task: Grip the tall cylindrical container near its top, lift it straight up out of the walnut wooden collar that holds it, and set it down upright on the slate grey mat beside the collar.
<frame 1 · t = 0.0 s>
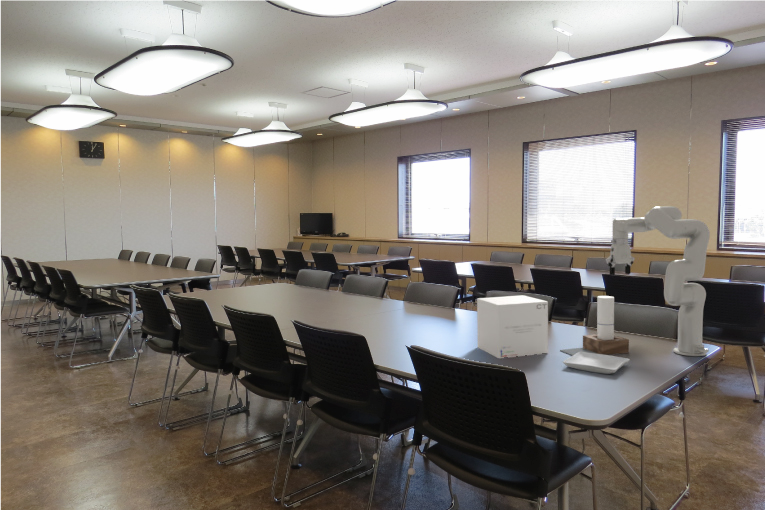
hand: (620, 274, 276), 31 cm above the table, tool pointing down, fingers open, 9 cm apart
collar: (605, 350, 243), on the table
cylindrical container: (605, 350, 243), resting in collar
cube: (511, 351, 247), on the table
salad plate: (596, 368, 217), on the table
mat: (579, 352, 239), on the table
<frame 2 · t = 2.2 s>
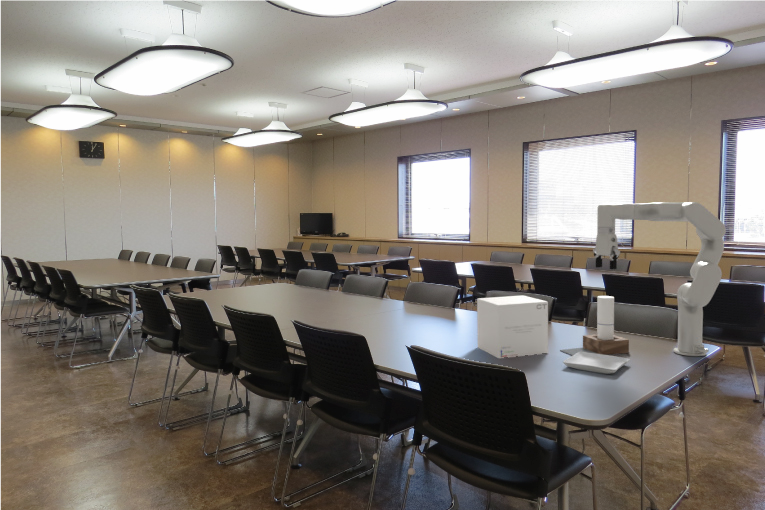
hand: (605, 268, 240), 38 cm above the table, tool pointing down, fingers open, 9 cm apart
nothing on the table moved.
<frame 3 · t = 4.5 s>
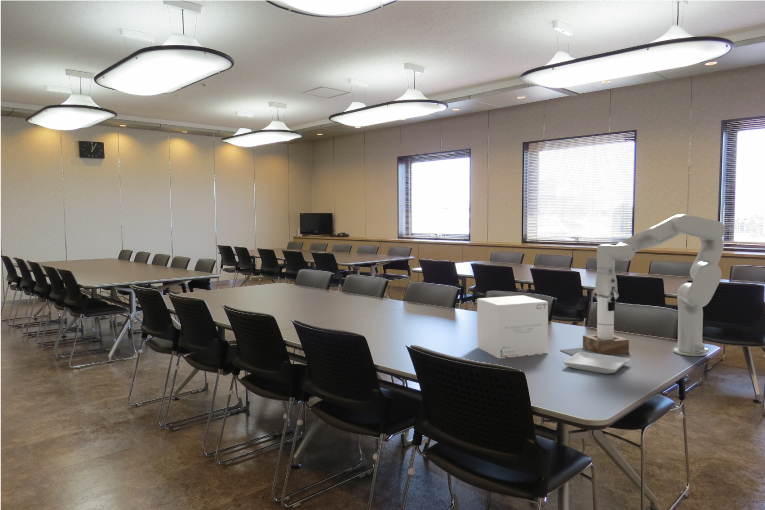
hand: (605, 309, 241), 19 cm above the table, tool pointing down, fingers closed on cylindrical container, 7 cm apart
cylindrical container: (605, 350, 243), resting in collar, touching gripper
everything else where it was.
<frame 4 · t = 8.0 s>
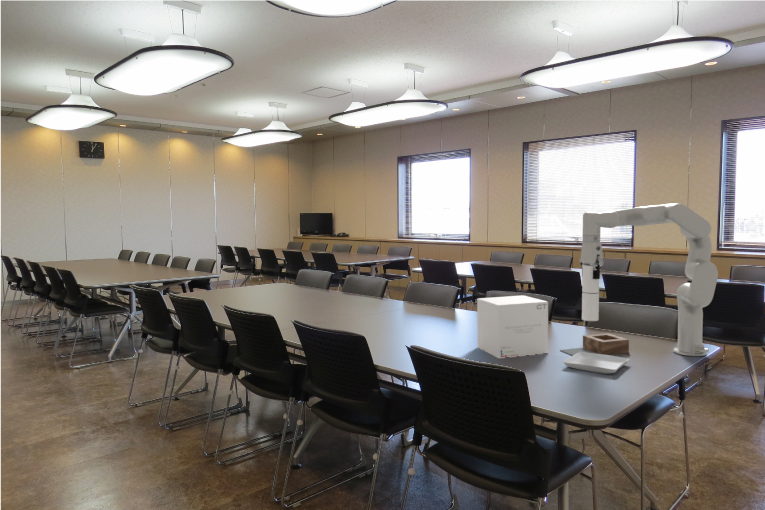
hand: (590, 277, 238), 34 cm above the table, tool pointing down, fingers closed on cylindrical container, 7 cm apart
cylindrical container: (590, 319, 240), point 15 cm above the table, touching gripper
everything else where it was.
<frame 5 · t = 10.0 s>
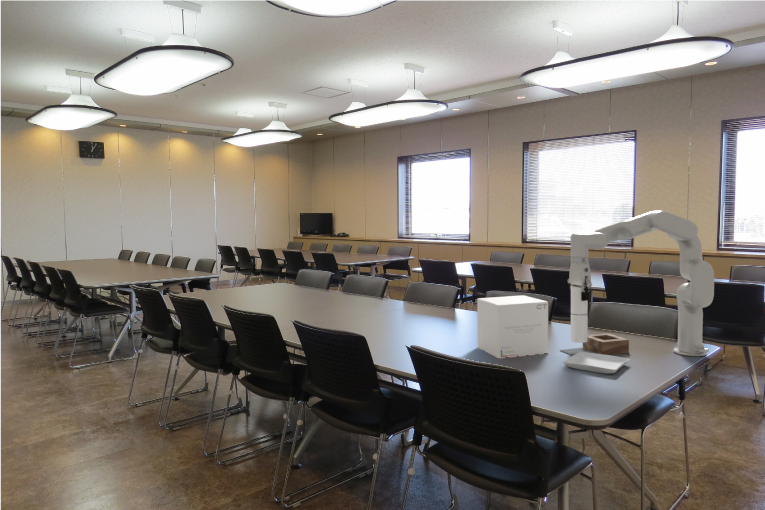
hand: (579, 299, 237), 25 cm above the table, tool pointing down, fingers closed on cylindrical container, 7 cm apart
cylindrical container: (579, 341, 239), point 5 cm above the table, touching gripper
everything else where it was.
when the fingers open (21 cm above the table, at t = 11.7 s): cylindrical container drops 1 cm, resting on mat.
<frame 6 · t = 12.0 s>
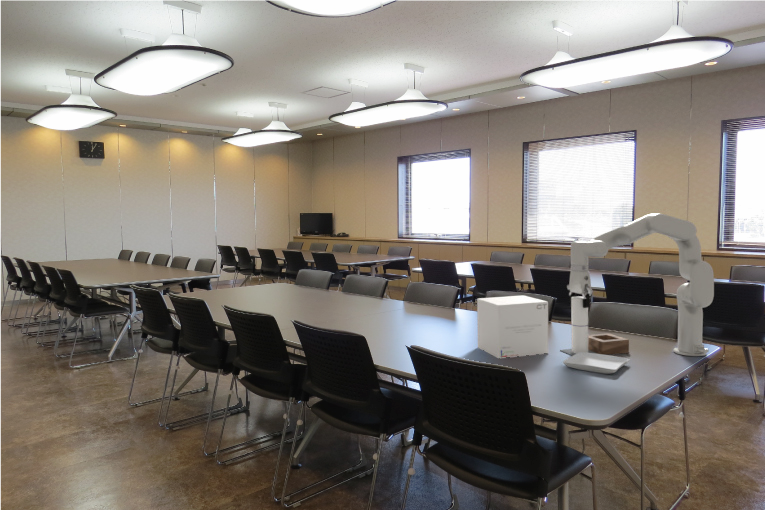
hand: (579, 305, 238), 22 cm above the table, tool pointing down, fingers open, 9 cm apart
cylindrical container: (579, 352, 239), resting on mat
everything else where it was.
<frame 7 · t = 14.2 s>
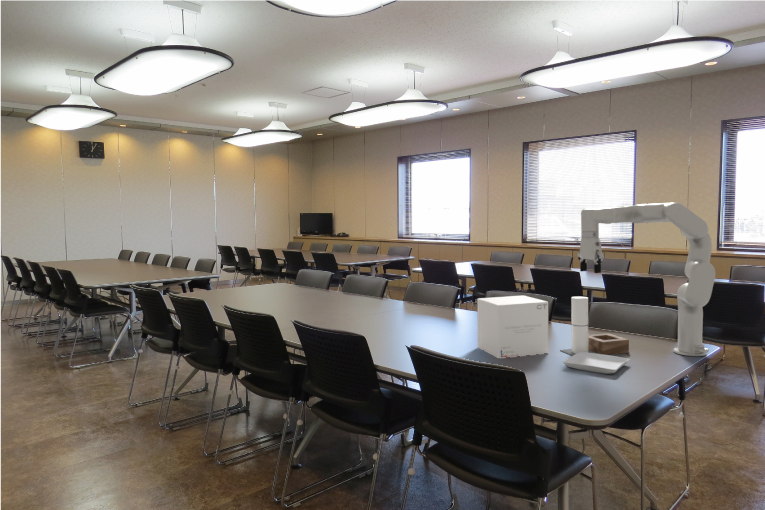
hand: (590, 272, 243), 36 cm above the table, tool pointing down, fingers open, 9 cm apart
nothing on the table moved.
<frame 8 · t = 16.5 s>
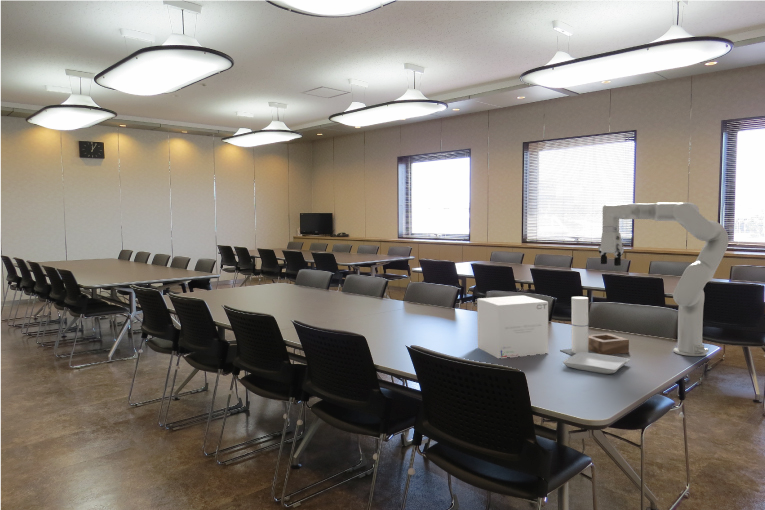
hand: (610, 264, 256), 38 cm above the table, tool pointing down, fingers open, 9 cm apart
nothing on the table moved.
at the end: cylindrical container inside the target area on the mat (0.3 cm from its centre), point 0.3 cm above the mat's base; cylindrical container tilted 0°; the gripper is holding nothing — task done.
